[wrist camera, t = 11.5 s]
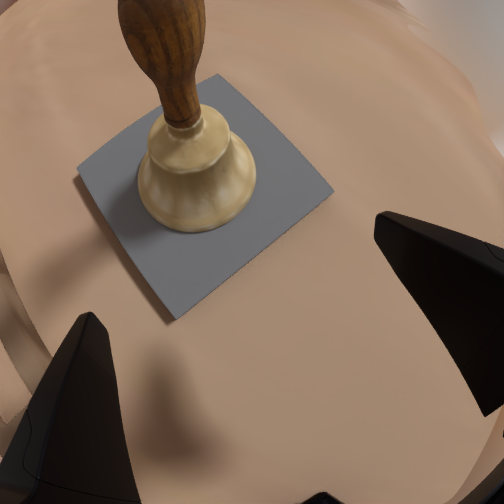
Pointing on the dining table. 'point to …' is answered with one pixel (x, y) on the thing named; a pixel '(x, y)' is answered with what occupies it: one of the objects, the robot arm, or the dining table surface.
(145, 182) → the hand bell
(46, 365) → the walnut well board
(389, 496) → the dining table surface
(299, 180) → the grey rubber mat
